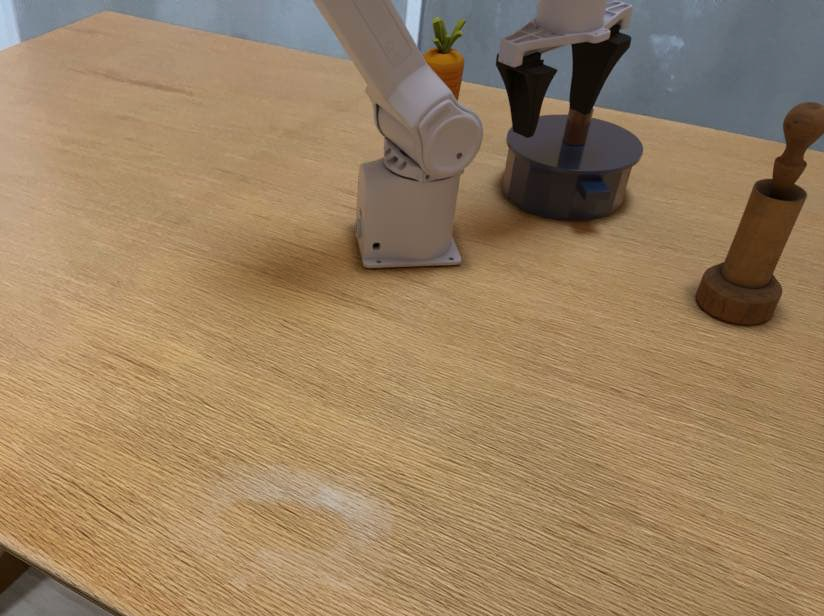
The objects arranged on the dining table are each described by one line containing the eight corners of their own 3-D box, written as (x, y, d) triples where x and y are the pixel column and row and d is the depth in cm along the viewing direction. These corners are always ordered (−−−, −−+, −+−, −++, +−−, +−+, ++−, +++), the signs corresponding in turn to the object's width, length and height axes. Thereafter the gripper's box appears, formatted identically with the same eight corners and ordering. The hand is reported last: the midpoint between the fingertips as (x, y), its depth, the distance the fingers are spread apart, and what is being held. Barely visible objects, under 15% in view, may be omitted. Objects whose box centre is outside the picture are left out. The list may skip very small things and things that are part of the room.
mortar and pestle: (777, 330, 71) (869, 126, 59) (696, 318, 72) (770, 117, 61) (769, 290, 75) (853, 93, 64) (693, 279, 77) (761, 85, 65)
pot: (526, 236, 83) (536, 187, 79) (484, 157, 96) (492, 112, 93) (649, 232, 83) (664, 183, 80) (590, 154, 97) (601, 109, 93)
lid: (524, 183, 81) (533, 139, 78) (491, 126, 92) (498, 84, 89) (661, 178, 82) (675, 134, 79) (613, 121, 92) (624, 80, 89)
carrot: (451, 140, 100) (469, 9, 90) (454, 158, 96) (472, 23, 86) (410, 138, 101) (423, 8, 90) (411, 156, 97) (424, 22, 87)
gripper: (552, -3, 64) (527, 159, 74) (674, -42, 70) (637, 114, 79) (489, -22, 69) (472, 133, 78) (608, -58, 74) (580, 91, 83)
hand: (551, 122), depth 79 cm, fingers open, 7 cm apart
